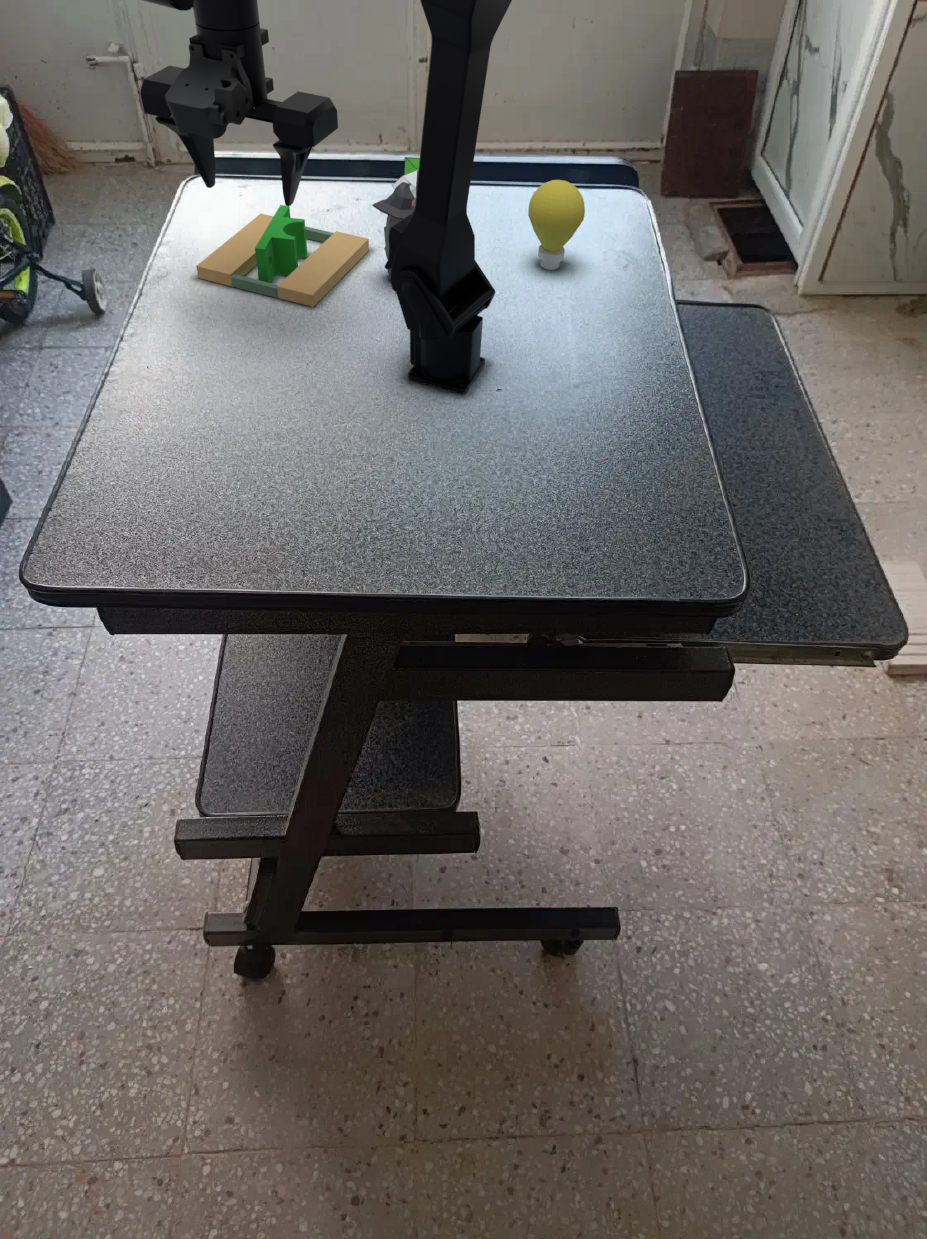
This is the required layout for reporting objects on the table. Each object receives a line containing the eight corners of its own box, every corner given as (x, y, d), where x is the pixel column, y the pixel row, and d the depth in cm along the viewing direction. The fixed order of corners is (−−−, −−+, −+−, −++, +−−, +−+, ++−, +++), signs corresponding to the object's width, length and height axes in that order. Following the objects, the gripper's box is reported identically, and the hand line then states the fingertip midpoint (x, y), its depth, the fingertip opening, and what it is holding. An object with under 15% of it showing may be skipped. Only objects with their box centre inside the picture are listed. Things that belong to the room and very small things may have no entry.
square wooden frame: (369, 250, 111) (368, 238, 110) (313, 307, 102) (312, 295, 101) (262, 225, 114) (260, 213, 113) (198, 278, 105) (196, 266, 104)
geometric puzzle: (399, 176, 121) (393, 140, 113) (450, 180, 121) (447, 144, 113) (393, 227, 120) (387, 194, 112) (444, 231, 120) (441, 199, 112)
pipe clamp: (291, 290, 104) (287, 252, 101) (259, 286, 105) (254, 248, 101) (313, 244, 112) (310, 207, 108) (284, 240, 112) (280, 203, 108)
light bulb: (538, 246, 114) (547, 165, 106) (585, 262, 112) (598, 179, 104) (513, 267, 110) (520, 184, 103) (561, 284, 108) (573, 200, 100)
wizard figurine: (366, 278, 107) (362, 174, 98) (401, 263, 109) (400, 160, 100) (413, 305, 103) (414, 200, 94) (448, 289, 106) (452, 186, 97)
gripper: (84, 28, 78) (126, 208, 90) (275, 66, 74) (293, 248, 86) (157, -4, 85) (187, 166, 97) (335, 28, 81) (344, 202, 93)
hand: (249, 195), depth 93 cm, fingers open, 9 cm apart
